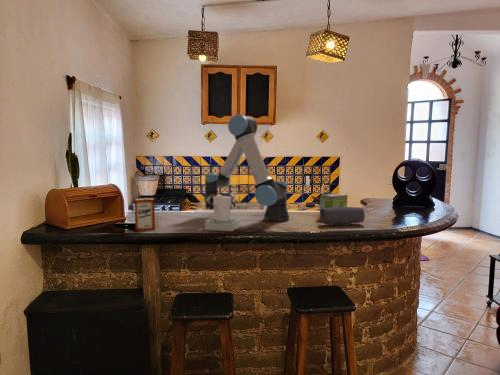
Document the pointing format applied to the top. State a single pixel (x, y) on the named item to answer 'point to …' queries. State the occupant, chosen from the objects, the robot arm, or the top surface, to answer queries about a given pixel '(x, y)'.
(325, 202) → the tea box
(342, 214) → the bluetooth speaker
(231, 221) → the tray
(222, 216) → the candle holder
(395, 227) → the top surface
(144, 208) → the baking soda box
